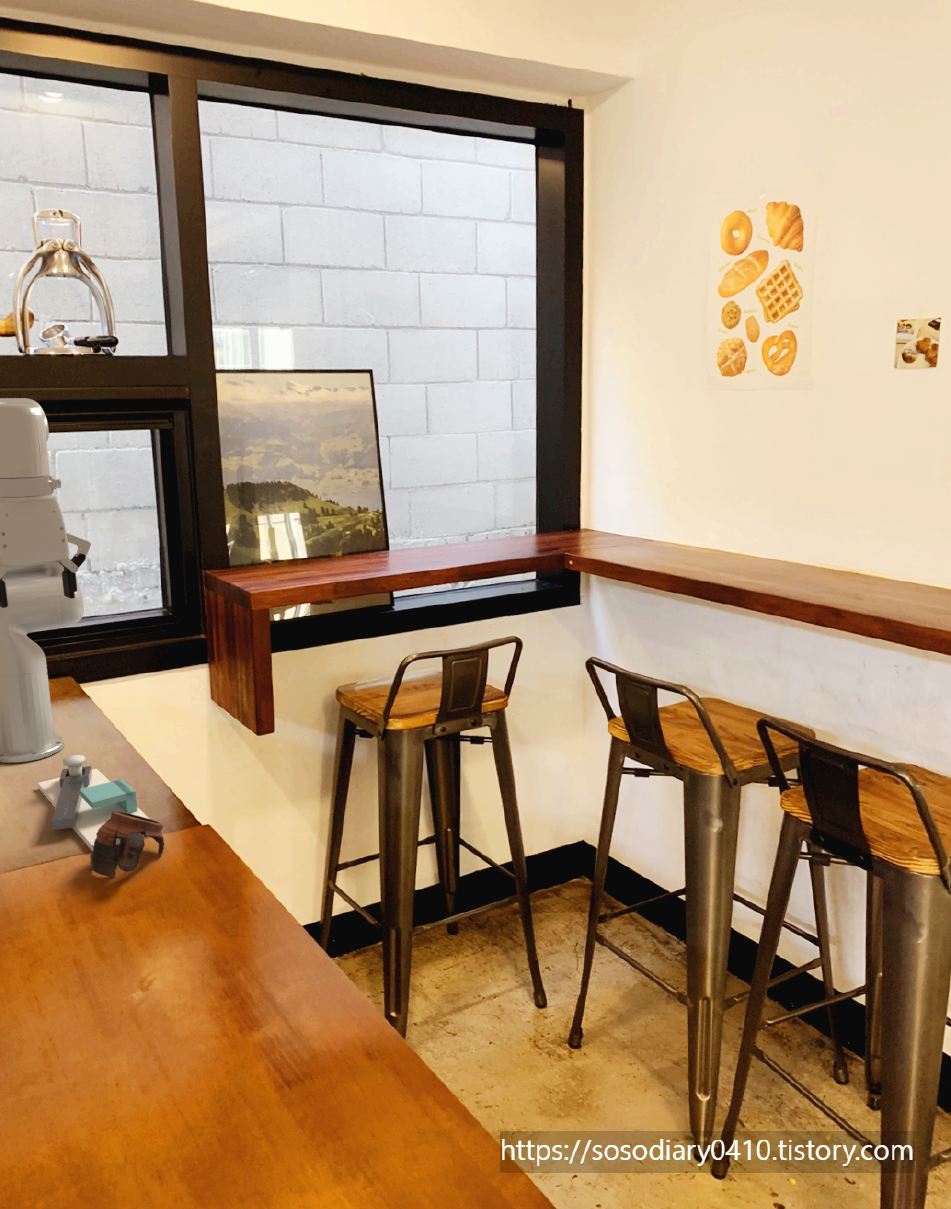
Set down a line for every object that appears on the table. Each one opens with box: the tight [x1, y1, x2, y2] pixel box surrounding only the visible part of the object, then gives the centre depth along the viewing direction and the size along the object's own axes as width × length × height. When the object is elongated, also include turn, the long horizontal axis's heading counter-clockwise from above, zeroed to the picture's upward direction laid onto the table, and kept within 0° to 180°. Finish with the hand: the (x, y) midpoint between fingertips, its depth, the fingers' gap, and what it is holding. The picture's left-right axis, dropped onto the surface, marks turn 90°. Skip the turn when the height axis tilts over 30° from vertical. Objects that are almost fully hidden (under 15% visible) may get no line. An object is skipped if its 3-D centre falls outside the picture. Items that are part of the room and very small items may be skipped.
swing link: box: [51, 765, 93, 831], centre depth 149 cm, size 20×4×2 cm, turn 17°
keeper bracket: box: [80, 778, 138, 813], centre depth 146 cm, size 6×6×3 cm
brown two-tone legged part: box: [89, 811, 165, 879], centre depth 131 cm, size 12×10×8 cm
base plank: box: [37, 754, 150, 852], centre depth 148 cm, size 28×10×5 cm, turn 39°
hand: (36, 601), depth 145 cm, fingers open, 9 cm apart
